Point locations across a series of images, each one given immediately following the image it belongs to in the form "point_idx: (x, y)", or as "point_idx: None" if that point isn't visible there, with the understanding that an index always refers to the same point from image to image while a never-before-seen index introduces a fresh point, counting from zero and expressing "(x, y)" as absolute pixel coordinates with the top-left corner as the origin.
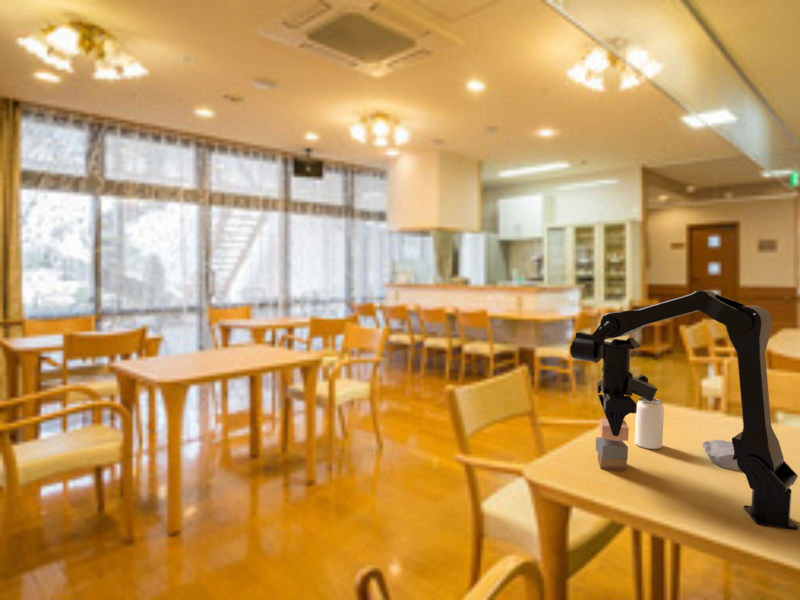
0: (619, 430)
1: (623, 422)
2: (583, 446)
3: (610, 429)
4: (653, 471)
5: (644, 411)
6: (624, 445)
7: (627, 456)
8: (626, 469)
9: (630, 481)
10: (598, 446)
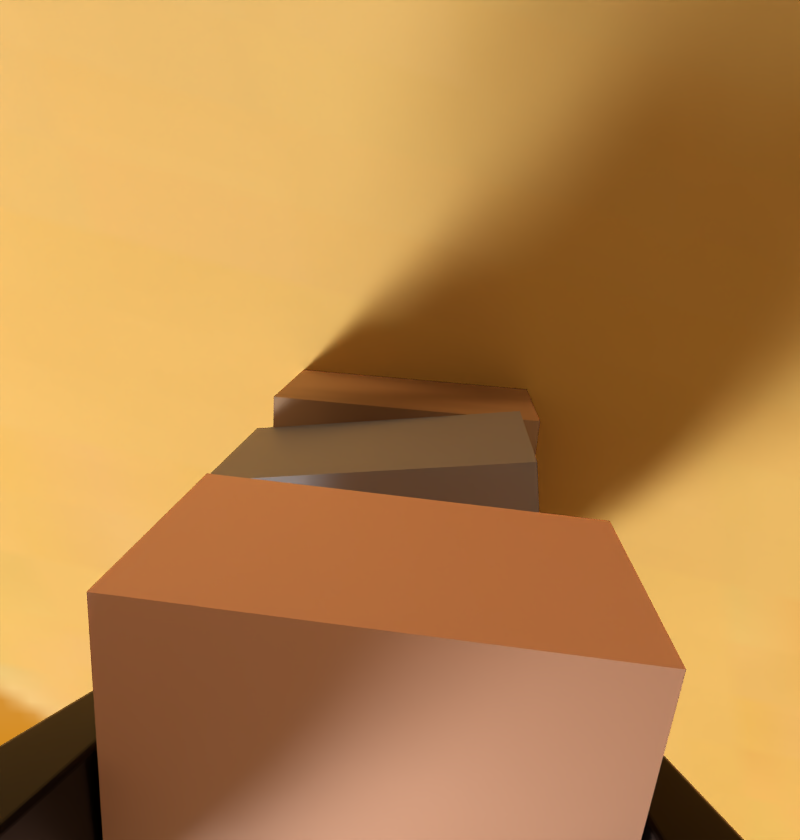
0: (708, 810)
1: (245, 663)
2: (25, 615)
3: None
4: (467, 112)
5: None
6: (484, 493)
7: (520, 421)
8: (528, 394)
9: (743, 408)
10: None
